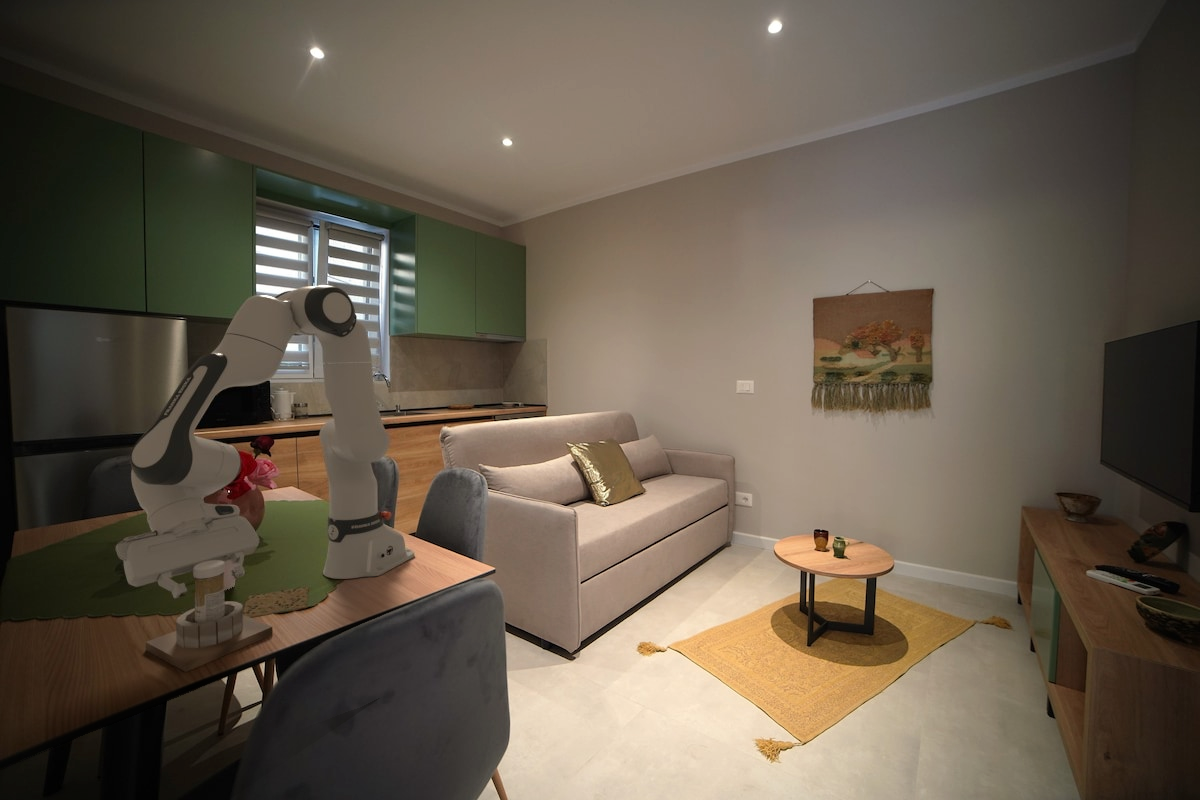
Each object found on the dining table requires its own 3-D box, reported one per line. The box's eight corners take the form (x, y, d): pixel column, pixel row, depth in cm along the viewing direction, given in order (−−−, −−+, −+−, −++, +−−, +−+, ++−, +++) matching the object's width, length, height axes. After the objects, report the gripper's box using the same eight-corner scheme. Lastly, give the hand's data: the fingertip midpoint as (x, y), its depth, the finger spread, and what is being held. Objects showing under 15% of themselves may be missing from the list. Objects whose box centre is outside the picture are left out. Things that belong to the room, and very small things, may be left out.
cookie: (239, 622, 102) (239, 617, 102) (247, 598, 112) (247, 594, 112) (307, 609, 108) (307, 605, 107) (309, 588, 118) (309, 584, 118)
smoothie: (223, 594, 113) (221, 533, 112) (199, 591, 114) (198, 531, 114) (248, 583, 119) (247, 525, 119) (226, 580, 121) (224, 523, 120)
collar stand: (232, 617, 103) (231, 591, 103) (272, 634, 97) (272, 606, 96) (146, 650, 90) (145, 620, 90) (186, 672, 84) (185, 640, 84)
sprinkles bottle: (192, 635, 93) (190, 563, 92) (222, 625, 96) (220, 557, 96) (198, 643, 90) (196, 570, 89) (229, 633, 94) (227, 563, 93)
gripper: (117, 530, 86) (146, 598, 82) (246, 503, 104) (275, 558, 100) (106, 551, 88) (134, 618, 85) (234, 521, 107) (262, 575, 103)
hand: (211, 585), depth 93 cm, fingers open, 8 cm apart
